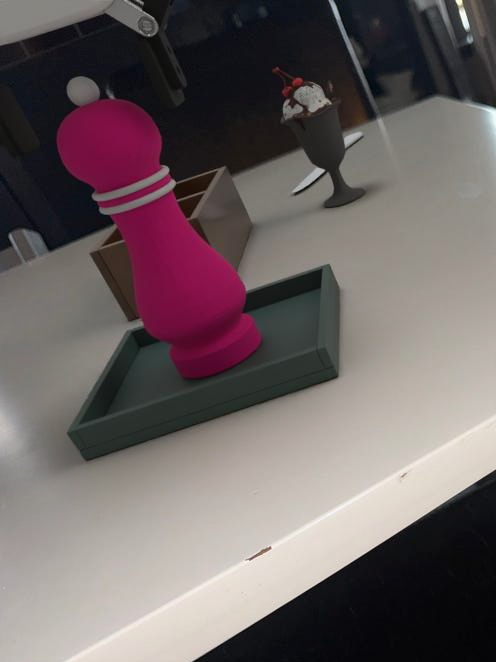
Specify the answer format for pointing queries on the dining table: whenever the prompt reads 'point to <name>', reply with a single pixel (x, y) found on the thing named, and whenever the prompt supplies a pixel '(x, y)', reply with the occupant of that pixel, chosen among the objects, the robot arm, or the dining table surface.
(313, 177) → the butter knife
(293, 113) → the sundae
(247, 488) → the dining table surface
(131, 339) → the tray
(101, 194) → the pepper mill
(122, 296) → the divided box
